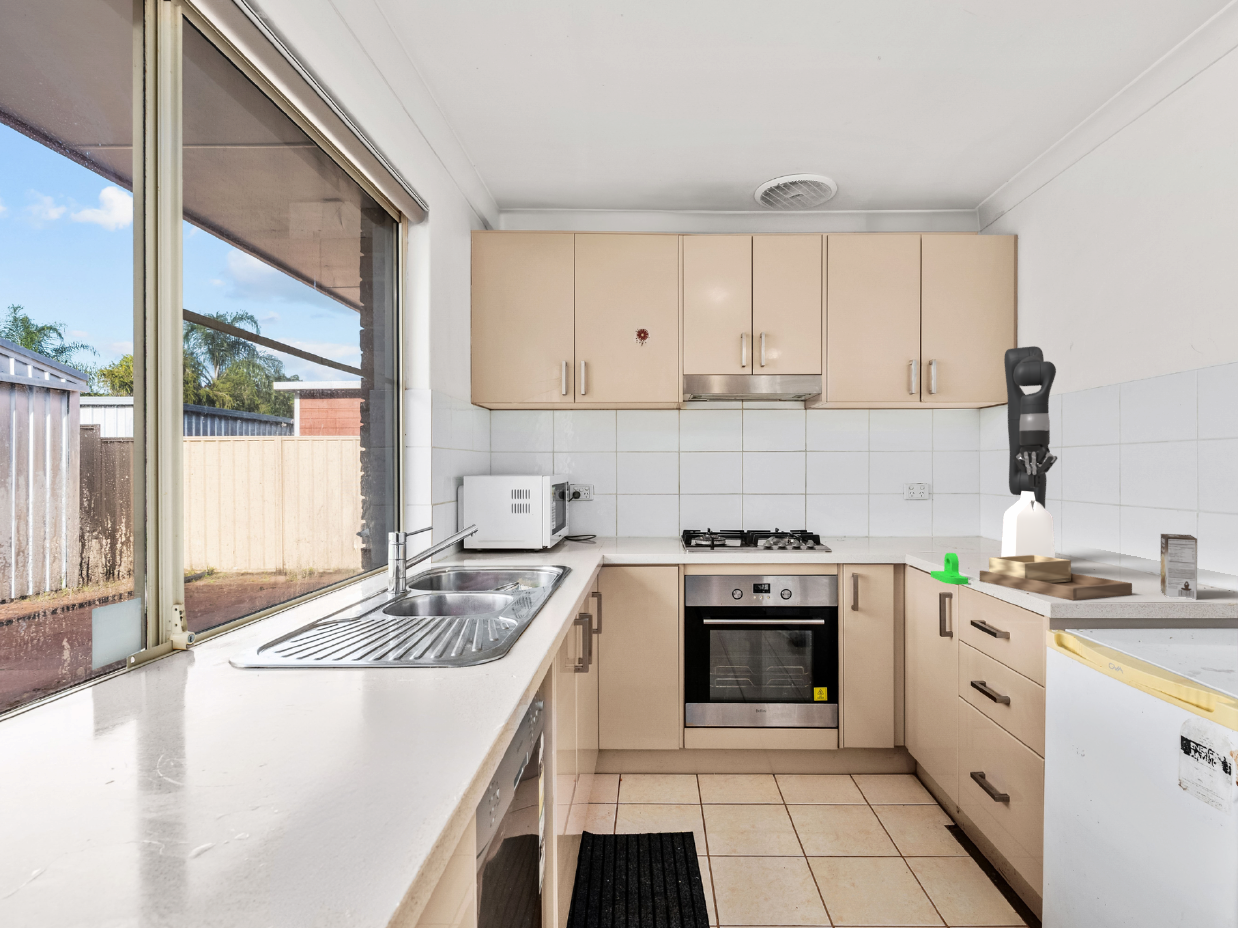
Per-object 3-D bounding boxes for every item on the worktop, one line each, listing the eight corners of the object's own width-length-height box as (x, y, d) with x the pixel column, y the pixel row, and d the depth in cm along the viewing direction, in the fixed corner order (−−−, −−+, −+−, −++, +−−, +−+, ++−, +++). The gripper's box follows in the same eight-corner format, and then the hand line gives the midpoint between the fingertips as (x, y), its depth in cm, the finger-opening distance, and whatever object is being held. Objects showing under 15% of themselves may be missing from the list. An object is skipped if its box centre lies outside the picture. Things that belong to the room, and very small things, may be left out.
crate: (988, 577, 190) (989, 557, 190) (1033, 574, 196) (1033, 554, 196) (1024, 584, 179) (1024, 563, 179) (1070, 581, 185) (1070, 560, 185)
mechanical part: (930, 577, 198) (930, 551, 198) (951, 577, 198) (951, 551, 198) (946, 584, 186) (946, 557, 186) (968, 585, 186) (968, 557, 186)
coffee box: (1159, 591, 175) (1159, 533, 175) (1190, 594, 172) (1190, 534, 172) (1165, 597, 168) (1166, 536, 168) (1198, 600, 164) (1198, 538, 164)
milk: (1000, 568, 213) (1000, 490, 213) (1038, 569, 211) (1039, 490, 211) (1014, 574, 202) (1015, 492, 202) (1055, 576, 199) (1056, 492, 199)
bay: (979, 581, 191) (979, 570, 191) (1033, 576, 198) (1033, 566, 198) (1073, 600, 164) (1073, 588, 164) (1132, 594, 171) (1132, 583, 171)
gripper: (1005, 430, 196) (1005, 486, 196) (1046, 428, 183) (1046, 489, 184) (1023, 430, 198) (1023, 485, 199) (1065, 428, 186) (1065, 488, 186)
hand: (1034, 487), depth 191 cm, fingers closed
